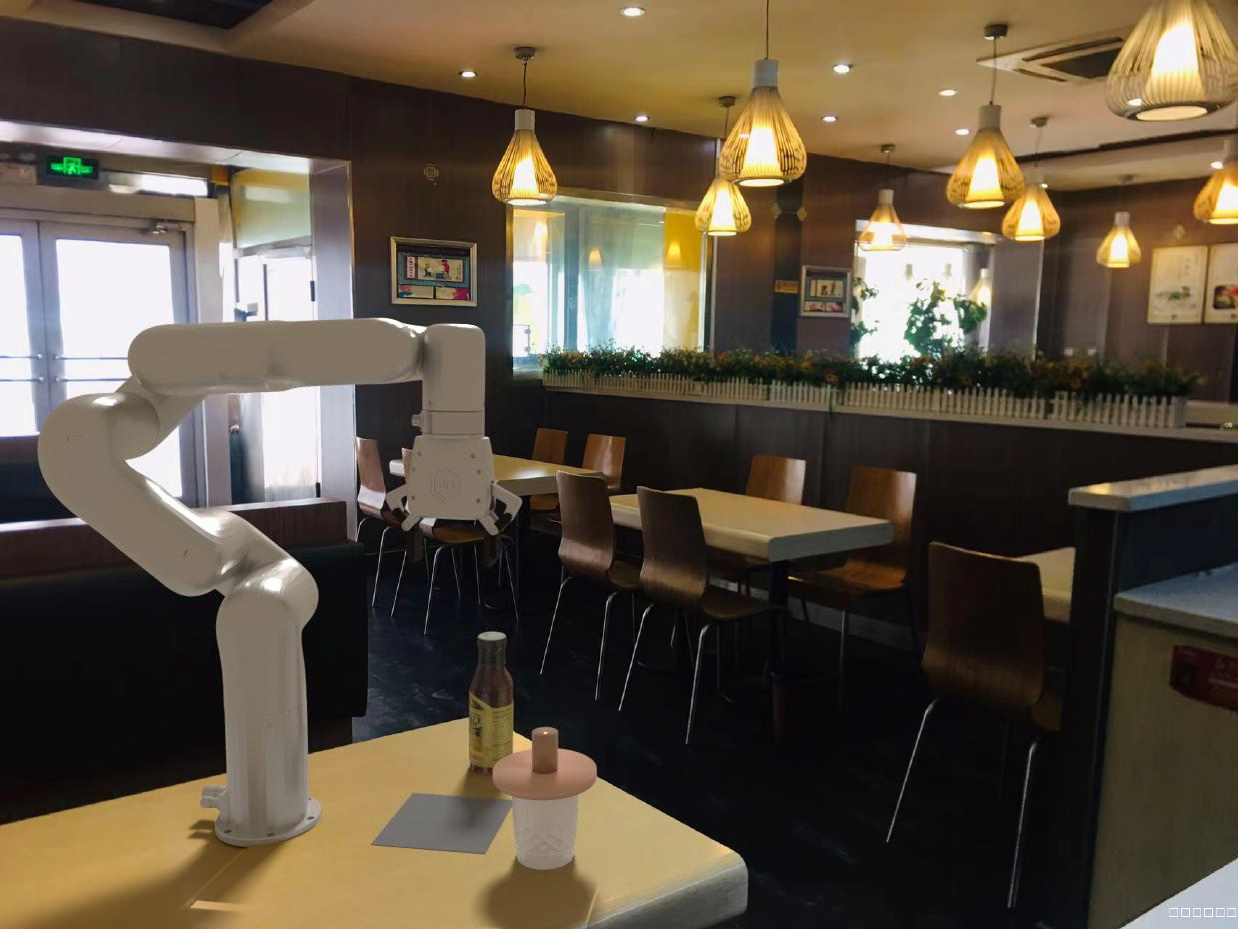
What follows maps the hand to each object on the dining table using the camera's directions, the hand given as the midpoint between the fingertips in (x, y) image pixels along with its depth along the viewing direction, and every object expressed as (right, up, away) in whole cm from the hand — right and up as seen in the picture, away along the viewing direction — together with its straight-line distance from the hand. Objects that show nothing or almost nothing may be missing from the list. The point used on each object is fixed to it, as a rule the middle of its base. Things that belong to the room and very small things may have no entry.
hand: (452, 562), depth 117 cm
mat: (-1, -33, +1) cm, 33 cm away
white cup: (+12, -34, -7) cm, 37 cm away
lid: (+12, -24, -8) cm, 28 cm away
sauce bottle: (+2, -32, +17) cm, 36 cm away
